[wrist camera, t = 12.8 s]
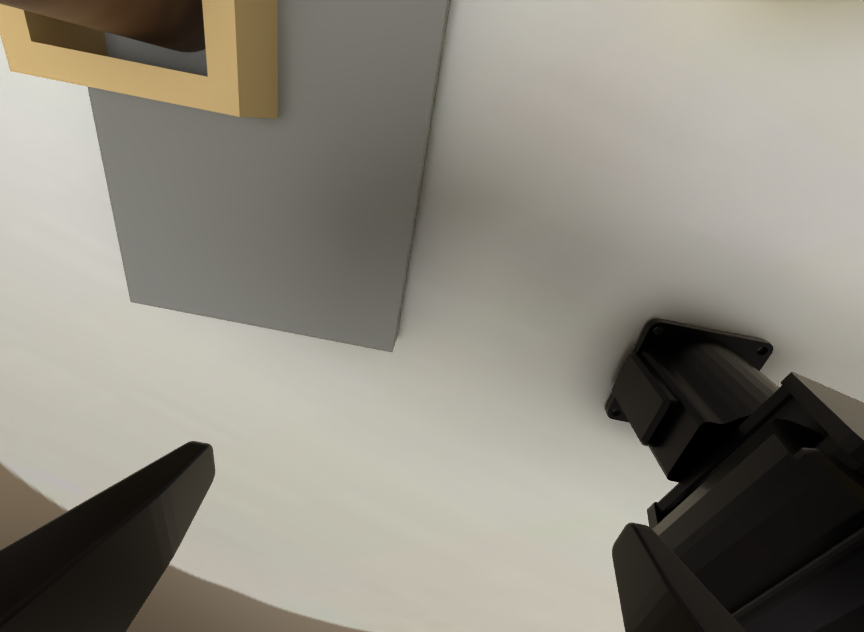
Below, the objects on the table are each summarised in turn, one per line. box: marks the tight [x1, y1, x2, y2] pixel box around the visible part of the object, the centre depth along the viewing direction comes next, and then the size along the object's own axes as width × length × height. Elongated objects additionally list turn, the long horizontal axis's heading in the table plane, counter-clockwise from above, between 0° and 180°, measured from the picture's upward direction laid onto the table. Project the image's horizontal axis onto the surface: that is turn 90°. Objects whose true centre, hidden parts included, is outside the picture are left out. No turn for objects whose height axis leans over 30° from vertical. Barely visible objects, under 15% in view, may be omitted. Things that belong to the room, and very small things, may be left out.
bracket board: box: [0, 0, 450, 352], centre depth 15 cm, size 14×20×4 cm
